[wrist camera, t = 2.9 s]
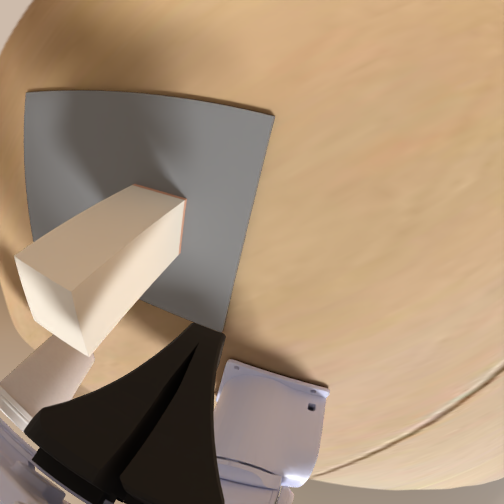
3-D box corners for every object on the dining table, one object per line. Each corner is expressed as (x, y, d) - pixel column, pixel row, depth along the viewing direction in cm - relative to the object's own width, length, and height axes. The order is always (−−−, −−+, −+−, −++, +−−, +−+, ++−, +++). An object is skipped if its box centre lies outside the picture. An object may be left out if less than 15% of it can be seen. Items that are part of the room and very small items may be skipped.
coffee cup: (114, 378, 33) (58, 460, 21) (69, 359, 36) (16, 426, 23) (86, 327, 29) (10, 418, 16) (42, 310, 31) (-25, 381, 18)
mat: (275, 116, 14) (273, 116, 14) (223, 329, 22) (221, 332, 22) (29, 92, 16) (25, 92, 16) (36, 244, 25) (34, 246, 24)
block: (186, 198, 17) (71, 291, 9) (180, 252, 19) (88, 357, 11) (134, 183, 18) (13, 255, 9) (132, 235, 20) (34, 320, 11)
